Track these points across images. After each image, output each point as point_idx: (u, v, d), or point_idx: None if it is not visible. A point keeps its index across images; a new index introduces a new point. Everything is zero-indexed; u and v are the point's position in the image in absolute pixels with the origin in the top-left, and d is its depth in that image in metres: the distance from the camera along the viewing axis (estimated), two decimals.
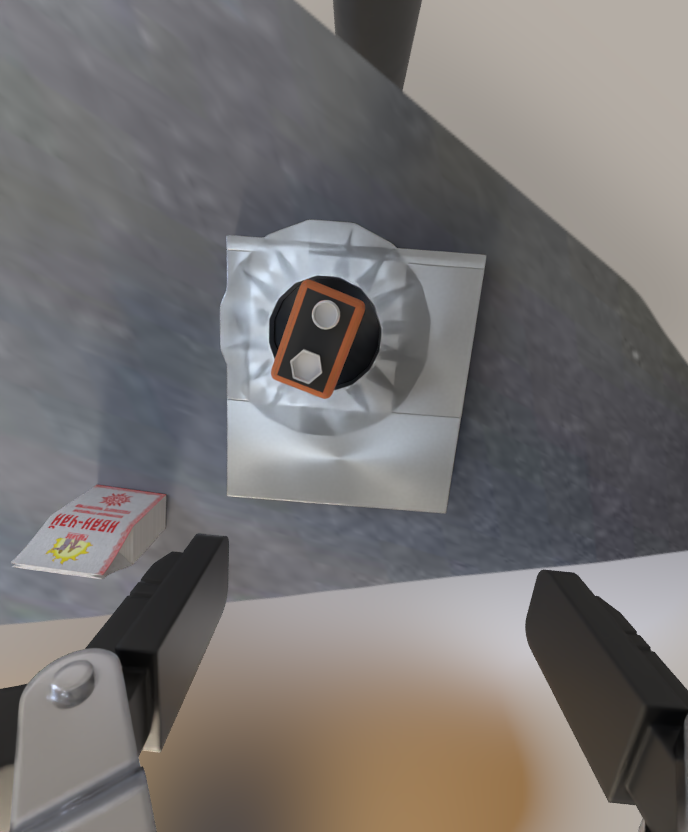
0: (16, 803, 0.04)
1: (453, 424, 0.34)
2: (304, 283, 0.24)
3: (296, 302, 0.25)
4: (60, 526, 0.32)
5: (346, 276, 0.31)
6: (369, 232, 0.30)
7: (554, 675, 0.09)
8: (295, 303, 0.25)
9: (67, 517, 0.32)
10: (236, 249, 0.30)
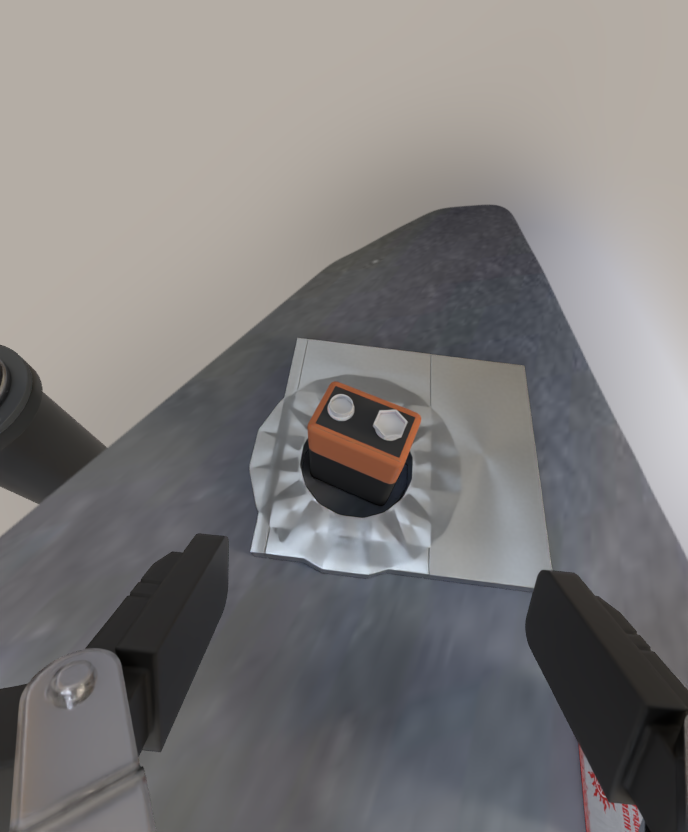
0: (16, 804, 0.04)
1: (437, 359, 0.38)
2: (311, 426, 0.25)
3: (328, 434, 0.25)
4: None
5: (303, 438, 0.33)
6: (268, 418, 0.34)
7: (554, 675, 0.09)
8: (328, 436, 0.25)
9: None
10: (265, 542, 0.29)
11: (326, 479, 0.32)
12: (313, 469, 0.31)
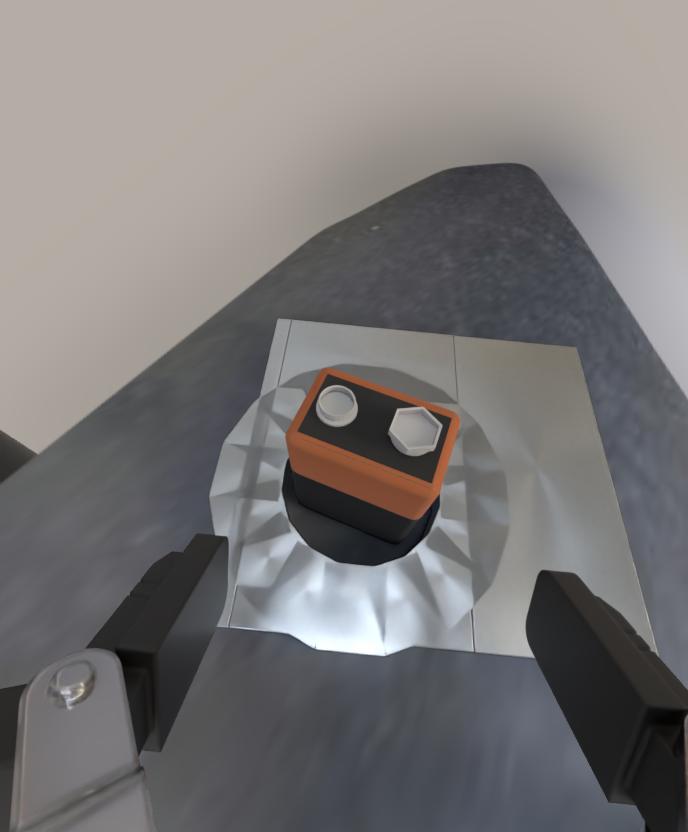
0: (15, 805, 0.04)
1: (462, 341, 0.28)
2: (290, 436, 0.16)
3: (317, 449, 0.16)
4: None
5: (286, 452, 0.24)
6: (237, 425, 0.24)
7: (554, 675, 0.09)
8: (318, 451, 0.16)
9: None
10: (230, 609, 0.19)
11: (320, 509, 0.23)
12: (300, 496, 0.22)
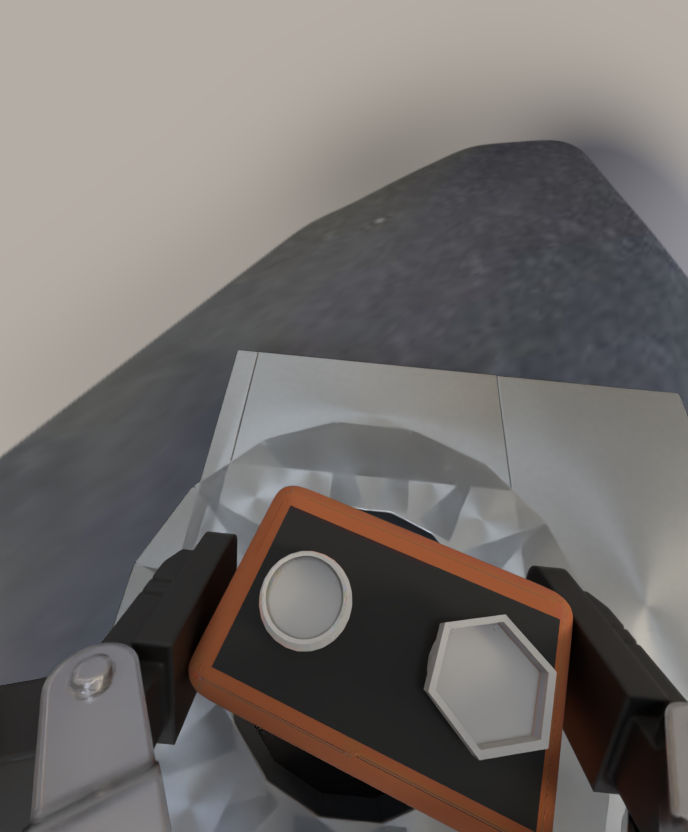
0: (37, 792, 0.04)
1: (510, 385, 0.19)
2: (197, 678, 0.07)
3: (256, 716, 0.07)
4: None
5: None
6: (160, 531, 0.15)
7: None
8: (259, 720, 0.07)
9: None
10: None
11: None
12: None
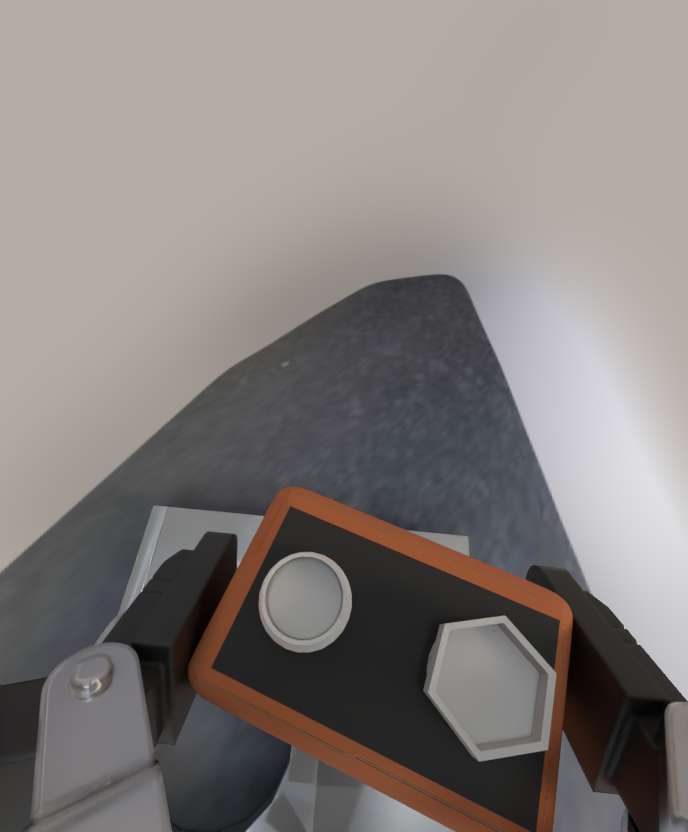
0: (36, 792, 0.04)
1: None
2: (196, 679, 0.07)
3: (256, 717, 0.07)
4: None
5: None
6: None
7: None
8: (259, 721, 0.07)
9: None
10: None
11: None
12: None
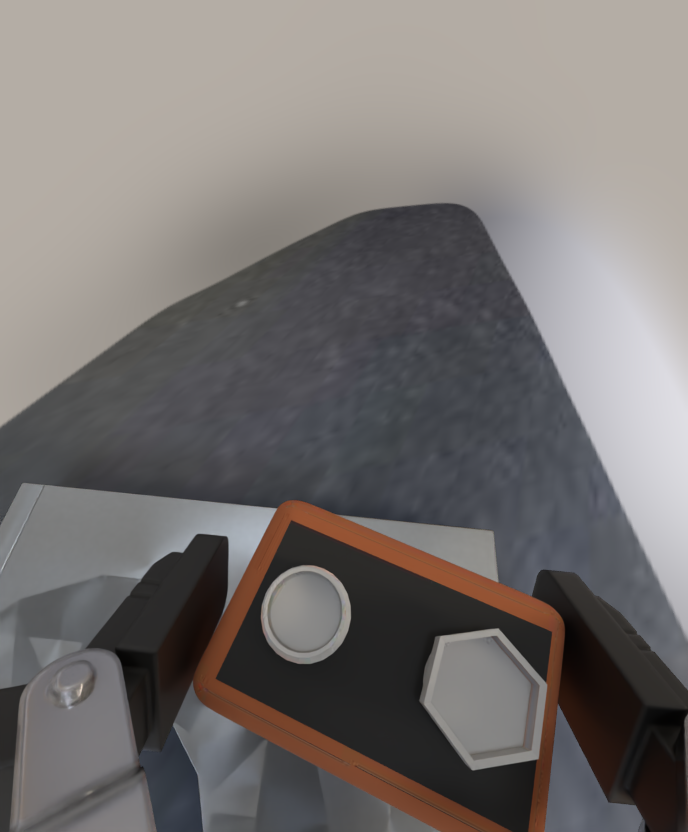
0: (16, 803, 0.04)
1: None
2: (201, 690, 0.07)
3: (258, 726, 0.07)
4: None
5: None
6: None
7: None
8: (262, 731, 0.07)
9: None
10: None
11: None
12: None
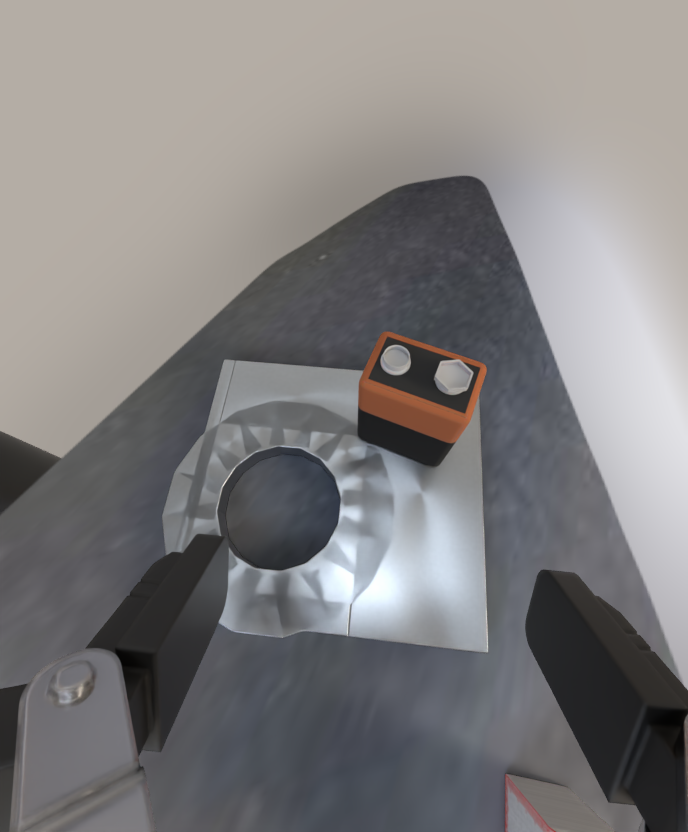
0: (16, 804, 0.04)
1: None
2: (363, 382, 0.23)
3: (382, 391, 0.23)
4: None
5: (222, 479, 0.30)
6: (186, 457, 0.31)
7: (554, 675, 0.09)
8: (383, 392, 0.23)
9: None
10: None
11: (376, 441, 0.30)
12: (361, 430, 0.29)
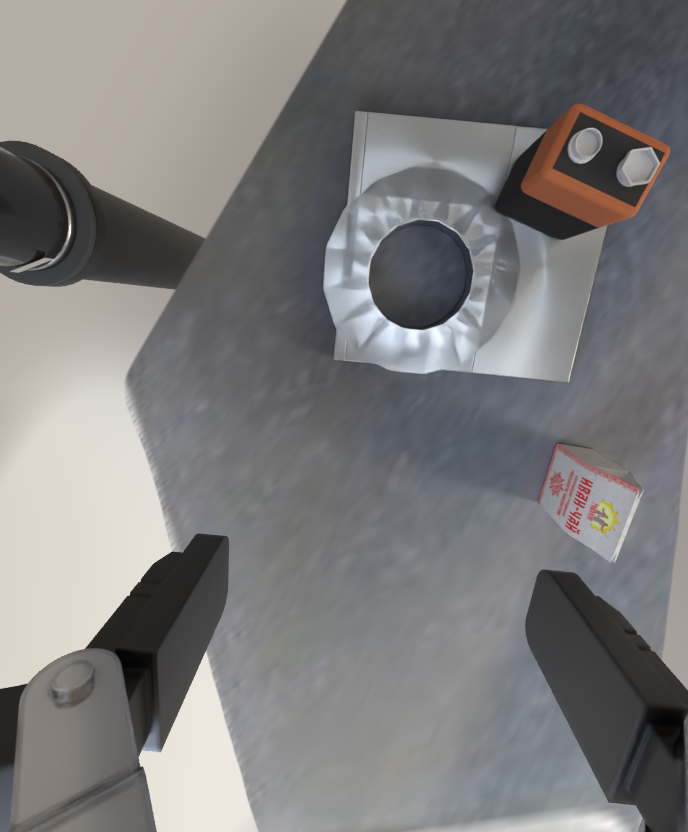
0: (16, 803, 0.04)
1: (522, 134, 0.32)
2: (546, 172, 0.24)
3: (563, 182, 0.24)
4: (579, 525, 0.35)
5: (369, 254, 0.34)
6: (333, 232, 0.34)
7: (554, 675, 0.09)
8: (563, 184, 0.24)
9: (570, 519, 0.36)
10: (345, 352, 0.37)
11: (514, 215, 0.32)
12: (505, 206, 0.31)
